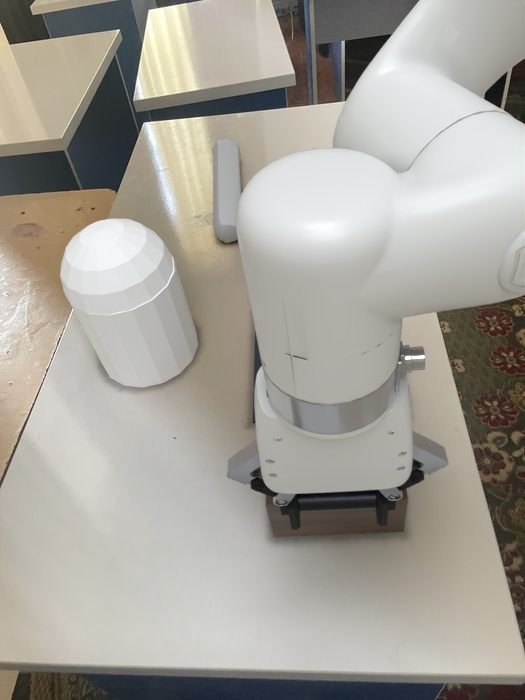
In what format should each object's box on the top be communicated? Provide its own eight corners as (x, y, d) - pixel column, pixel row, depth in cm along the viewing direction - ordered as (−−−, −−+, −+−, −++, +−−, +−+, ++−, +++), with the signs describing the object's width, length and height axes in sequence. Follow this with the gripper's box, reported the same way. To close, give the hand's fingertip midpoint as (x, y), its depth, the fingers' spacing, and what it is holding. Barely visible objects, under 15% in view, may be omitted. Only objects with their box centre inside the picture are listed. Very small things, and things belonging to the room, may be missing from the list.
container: (92, 390, 74) (25, 274, 59) (111, 317, 82) (57, 200, 68) (193, 384, 72) (151, 264, 57) (202, 310, 81) (167, 189, 66)
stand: (403, 532, 57) (408, 499, 51) (273, 537, 58) (265, 506, 53) (385, 419, 65) (388, 382, 60) (273, 425, 67) (266, 389, 61)
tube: (248, 224, 87) (243, 140, 103) (213, 219, 86) (213, 135, 102) (242, 251, 91) (238, 166, 107) (209, 247, 90) (209, 162, 106)
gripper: (470, 311, 34) (437, 463, 47) (187, 333, 36) (233, 474, 49) (504, 415, 29) (457, 551, 42) (174, 435, 31) (229, 561, 44)
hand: (337, 509), depth 46 cm, fingers closed on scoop, 6 cm apart
